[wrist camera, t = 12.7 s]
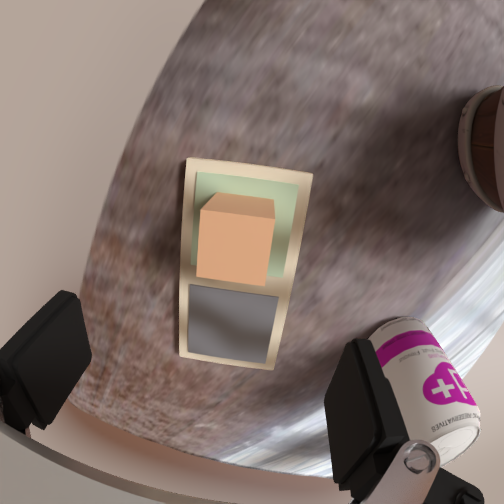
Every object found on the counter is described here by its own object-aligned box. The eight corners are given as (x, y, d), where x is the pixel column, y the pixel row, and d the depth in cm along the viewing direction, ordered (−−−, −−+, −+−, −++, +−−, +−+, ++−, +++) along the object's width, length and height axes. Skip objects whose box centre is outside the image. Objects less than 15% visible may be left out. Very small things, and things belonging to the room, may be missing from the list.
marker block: (217, 192, 24) (200, 209, 18) (273, 199, 24) (275, 219, 18) (212, 245, 25) (196, 276, 20) (266, 252, 25) (264, 286, 20)
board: (190, 157, 24) (186, 158, 23) (311, 172, 24) (313, 174, 23) (181, 350, 31) (179, 357, 30) (273, 364, 31) (273, 371, 30)
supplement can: (387, 303, 28) (450, 417, 14) (439, 325, 28) (502, 421, 15) (346, 361, 31) (375, 479, 17) (399, 376, 31) (437, 476, 17)
